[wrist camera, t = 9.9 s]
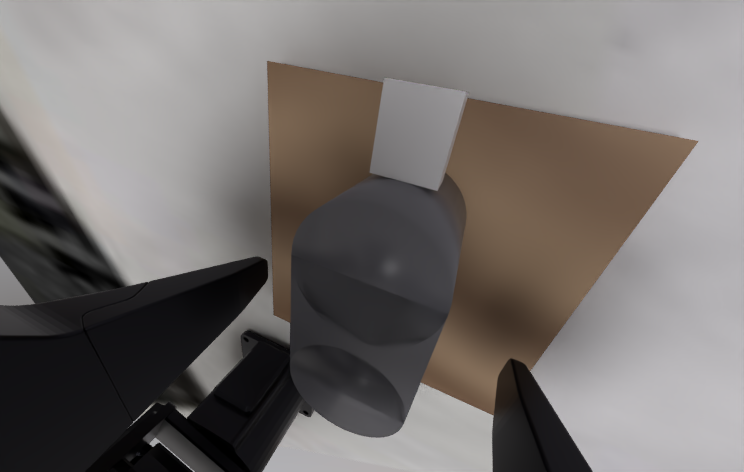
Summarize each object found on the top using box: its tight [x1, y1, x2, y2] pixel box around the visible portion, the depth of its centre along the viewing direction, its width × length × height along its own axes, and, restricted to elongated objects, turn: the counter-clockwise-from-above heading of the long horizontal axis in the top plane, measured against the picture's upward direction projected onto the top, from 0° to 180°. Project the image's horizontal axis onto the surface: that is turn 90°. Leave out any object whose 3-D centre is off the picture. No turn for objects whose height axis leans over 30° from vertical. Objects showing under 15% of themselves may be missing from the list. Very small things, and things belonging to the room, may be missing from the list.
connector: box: [290, 77, 469, 438], centre depth 10 cm, size 12×4×5 cm, turn 170°
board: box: [267, 61, 698, 415], centre depth 13 cm, size 14×14×1 cm
